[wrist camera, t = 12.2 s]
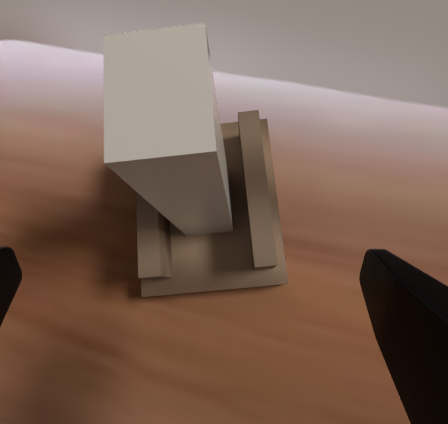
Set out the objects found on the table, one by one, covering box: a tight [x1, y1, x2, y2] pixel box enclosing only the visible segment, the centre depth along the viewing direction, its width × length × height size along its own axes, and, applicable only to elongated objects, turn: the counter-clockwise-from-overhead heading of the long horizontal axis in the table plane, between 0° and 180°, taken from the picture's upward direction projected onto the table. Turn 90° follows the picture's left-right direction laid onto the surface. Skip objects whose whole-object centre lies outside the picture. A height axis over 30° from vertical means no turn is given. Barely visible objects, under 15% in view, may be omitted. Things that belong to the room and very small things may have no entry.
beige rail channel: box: [136, 110, 288, 297], centre depth 21 cm, size 11×9×4 cm
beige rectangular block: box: [104, 23, 233, 236], centre depth 15 cm, size 4×3×12 cm
